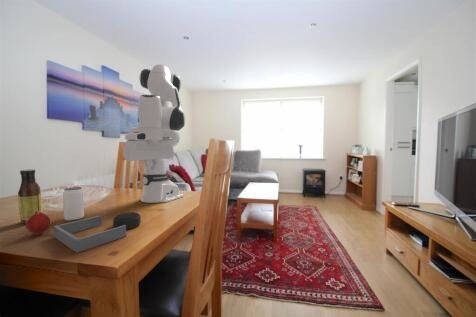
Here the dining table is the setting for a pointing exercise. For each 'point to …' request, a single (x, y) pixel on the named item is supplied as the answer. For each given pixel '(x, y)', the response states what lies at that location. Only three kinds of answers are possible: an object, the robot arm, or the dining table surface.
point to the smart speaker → (127, 220)
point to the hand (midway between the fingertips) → (151, 171)
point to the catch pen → (89, 241)
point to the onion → (38, 223)
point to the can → (73, 203)
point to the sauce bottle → (29, 195)
